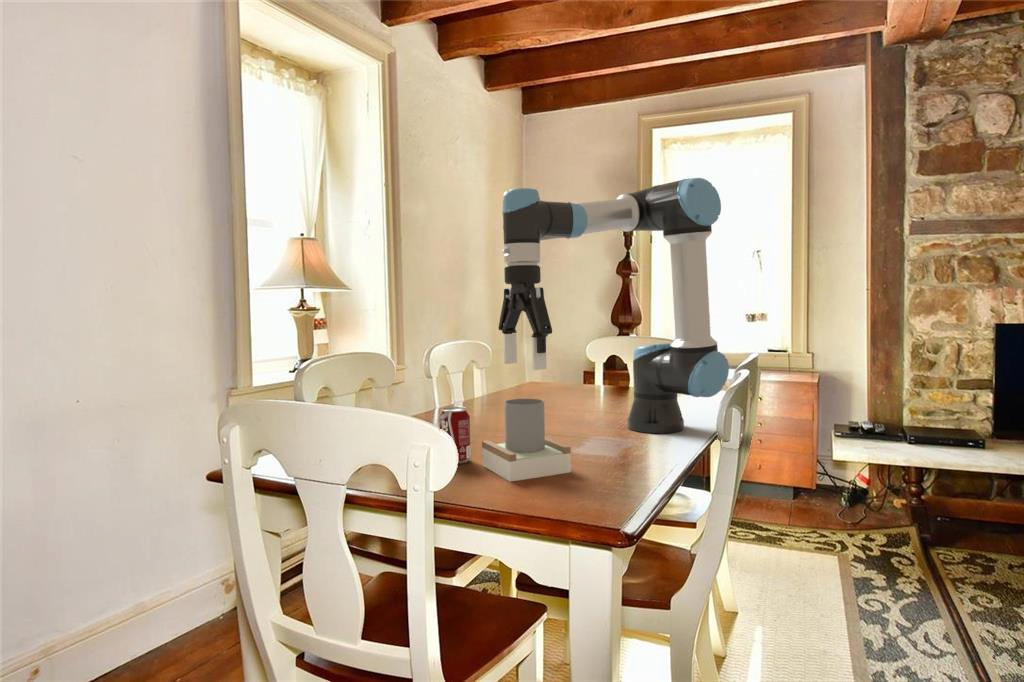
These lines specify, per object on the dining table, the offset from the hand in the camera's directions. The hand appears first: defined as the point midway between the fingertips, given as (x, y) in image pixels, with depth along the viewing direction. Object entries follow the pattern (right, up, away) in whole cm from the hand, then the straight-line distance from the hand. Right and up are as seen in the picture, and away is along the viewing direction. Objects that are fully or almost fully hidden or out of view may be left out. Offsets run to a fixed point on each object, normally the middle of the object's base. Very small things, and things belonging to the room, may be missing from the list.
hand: (524, 366), depth 135 cm
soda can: (-15, -22, +8) cm, 28 cm away
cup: (0, -18, +1) cm, 18 cm away
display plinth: (0, -22, +1) cm, 22 cm away
